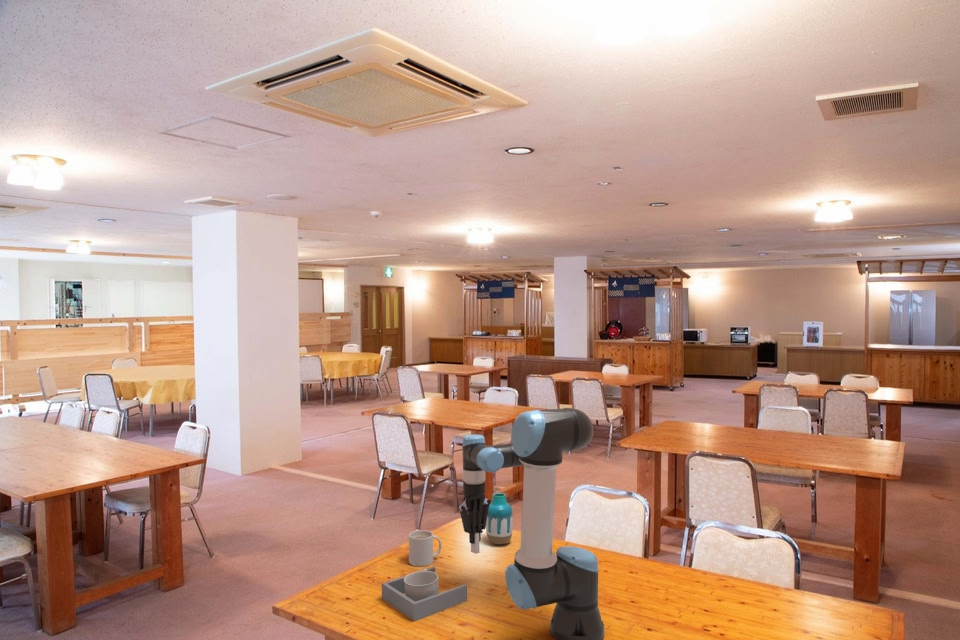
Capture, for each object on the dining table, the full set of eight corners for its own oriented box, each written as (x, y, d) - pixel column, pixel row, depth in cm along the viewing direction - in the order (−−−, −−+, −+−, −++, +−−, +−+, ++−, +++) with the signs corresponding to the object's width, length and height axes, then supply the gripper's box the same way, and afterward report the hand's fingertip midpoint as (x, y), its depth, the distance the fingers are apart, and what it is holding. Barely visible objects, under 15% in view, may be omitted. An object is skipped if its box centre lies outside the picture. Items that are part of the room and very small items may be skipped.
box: (467, 601, 195) (467, 585, 195) (414, 621, 182) (414, 604, 182) (433, 581, 209) (433, 566, 209) (381, 599, 196) (381, 583, 196)
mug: (404, 565, 223) (404, 537, 222) (415, 555, 232) (415, 528, 232) (433, 568, 219) (433, 540, 219) (442, 558, 228) (442, 531, 228)
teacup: (432, 612, 187) (432, 586, 187) (398, 608, 190) (398, 582, 190) (446, 592, 201) (446, 567, 201) (414, 588, 204) (414, 564, 203)
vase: (481, 540, 246) (481, 492, 246) (505, 536, 251) (505, 489, 250) (493, 549, 236) (493, 499, 236) (517, 545, 241) (517, 496, 241)
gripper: (481, 476, 215) (482, 544, 215) (451, 482, 207) (452, 554, 206) (496, 480, 209) (497, 550, 209) (466, 487, 201) (467, 560, 201)
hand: (475, 552), depth 208 cm, fingers closed
